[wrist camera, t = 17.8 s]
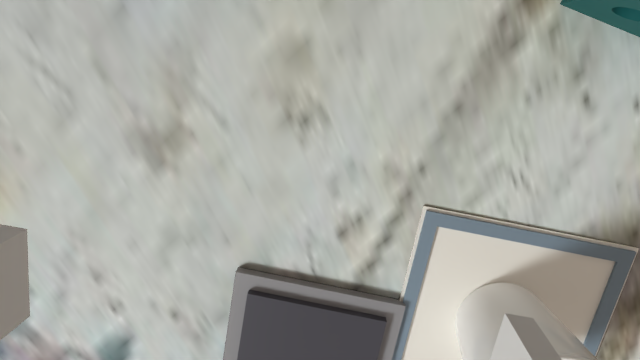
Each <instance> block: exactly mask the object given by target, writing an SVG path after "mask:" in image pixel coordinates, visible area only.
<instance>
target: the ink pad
mask: <svg viewBox="0 0 640 360" xmlns="http://www.w3.org/2000/svg"><path fill="white" fill-rule="evenodd" d="M405 307H406V305H405V303H403V301H399V300H398V299H393V298H388V297H383V296H378V295H373V294H369V293H364V292H359V291H354V290H349V289H344V288H339V287H334V286H329V285H324V284H319V283H314V282H309V281H304V280H299V279H294V278H289V277H284V276H280V275H275V274H270V273H265V272H260V271H255V270H250V269H245V268H240V267H238V269H237V271H236V274H235V281H234V288H233V294H232V301H231V308H230V315H229V322H228V329H227V336H226V342H225V349H224V356H223V360H392V357H393V353H394V349H395V345H396V342H397V338H398V334H399V330H400V326H401V322H402V319H403V315H404V311H405Z"/></svg>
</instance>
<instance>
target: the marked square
mask: <svg viewBox="0 0 640 360" xmlns="http://www.w3.org/2000/svg"><path fill="white" fill-rule="evenodd" d="M638 250H639V248H637V247H632V246H627V245H622V244H617V243H612V242H607V241H602V240H597V239H592V238H586V237H581V236H576V235H571V234H566V233H561V232H556V231H551V230H546V229H541V228H536V227H531V226H525V225H520V224H515V223H510V222H505V221H500V220H495V219H490V218H485V217H480V216H475V215H470V214H464V213H459V212H454V211H449V210H444V209H439V208H434V207H429V206H423V209H422V213H421V217H420V221H419V225H418V229H417V233H416V237H415V241H414V245H413V248H412V252H411V256H410V260H409V264H408V268H407V272H406V276H405V280H404V283H403V287H402V291H401V295H400V299H399V301H403V303H405V305H406V307H405V311H404V315H403V319H402V322H401V326H400V330H399V334H398V338H397V342H396V345H395V349H394V353H393V357H392V360H462V356H461V352H460V349H459V345H458V341H457V337H456V332H455V317H456V313H457V311H458V308H459V306H460V305H461V303H462V302H463V300H464V299H465V298H466V297H467V296H468V295H469V294H470V293H472V292H473V291H475V290H476V289H478V288H480V287H482V286H485V285H488V284H492V283H500V282H505V283H513V284H517V285H520V286H523V287H525V288H527V289H528V290H530V291H531V292H533V293H534V294H535V295H536V296H537V297H539V298H540V299H541V300H542V301H543V302H544V303H545V304H546V305H547V307H548V308H549V309H550V310H551V311H552V312H553V313H554V314H555V315H556V316H557V317H558V318H559V319H560V320H561V321H562V322H563V323H564V324H565V325H566V326H567V328H568V329H569V330H570V331H571V332H572V333H573V334H574V335H575V336H576V337H577V338H578V339H579V340H580V341H581V342H582V343H583V344H584V345H585V347H586V348H587V349H588V350H589V351H590V352H591V353H592V354H593V355H594V356H595V357H596V354H597V352H598V349H599V347H600V344H601V342H602V340H603V337H604V335H605V332H606V330H607V327H608V325H609V322H610V320H611V317H612V315H613V312H614V310H615V307H616V305H617V302H618V300H619V297H620V295H621V292H622V290H623V287H624V285H625V282H626V280H627V277H628V275H629V272H630V270H631V267H632V265H633V262H634V260H635V257H636V255H637V252H638Z"/></svg>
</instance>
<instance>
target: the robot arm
mask: <svg viewBox="0 0 640 360" xmlns="http://www.w3.org/2000/svg"><path fill="white" fill-rule="evenodd" d="M29 316H30V307H29V276H28V246H27V229H24V228H18V227H12V226H6V225H1V224H0V340H1V339H3V338H4V337H5V336H6V335H7V334H9V333H10V332H11V331H12V330H13V329H15V328H16V327H17V326H18V325H19V324H21V323H22V322H23V321H24V320H25V319H27V318H28V317H29ZM490 360H562V359H561V358H560V356H559V355H558V354H557V352H556V351H555V349H554V348H553V346H552V345H551V343H550V342H549V340H548V339H547V337H546V336H545V334H544V333H543V332H542V330H541V329H540V327H539V326H538V324H537V323H536V321H535V320H534V318H530V317H524V316H518V315H513V314H507V313H505V314H504V317H503V321H502V324H501V327H500V330H499V333H498V336H497V339H496V342H495V346H494V349H493V352H492V355H491V358H490Z"/></svg>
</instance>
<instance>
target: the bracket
mask: <svg viewBox="0 0 640 360" xmlns="http://www.w3.org/2000/svg"><path fill="white" fill-rule="evenodd" d="M560 4H561V5H563V6H566V7H568V8H571V9H573V10H575V11H578V12H580V13H583V14H585V15H587V16H590V17H592V18H595V19H597V20H600V21H602V22H604V23H607V24H609V25H612V26H614V27H617V28H619V29H621V30H624V31H626V32H629V33H631V34H634V35H636V36H638V37H640V0H562V1H561V3H560Z"/></svg>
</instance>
